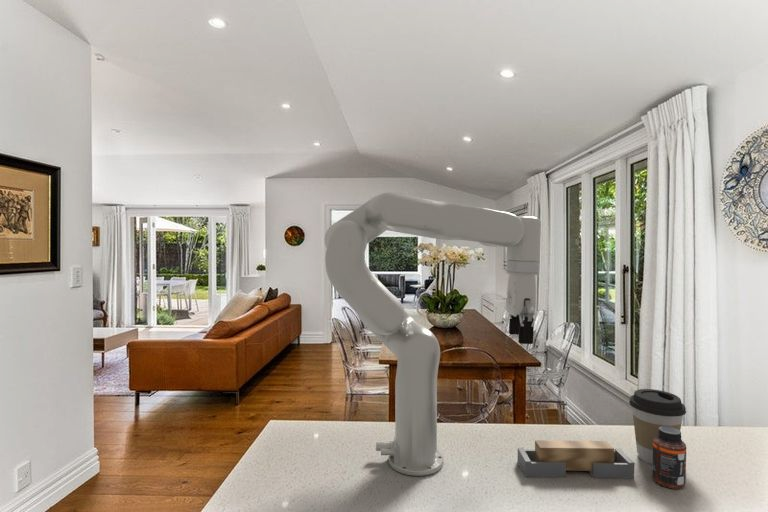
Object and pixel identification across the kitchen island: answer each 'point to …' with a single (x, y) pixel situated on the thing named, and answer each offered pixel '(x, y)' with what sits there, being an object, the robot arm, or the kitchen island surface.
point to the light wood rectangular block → (574, 453)
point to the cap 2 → (615, 467)
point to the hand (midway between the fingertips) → (520, 338)
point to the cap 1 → (539, 465)
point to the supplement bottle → (669, 458)
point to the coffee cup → (654, 417)
